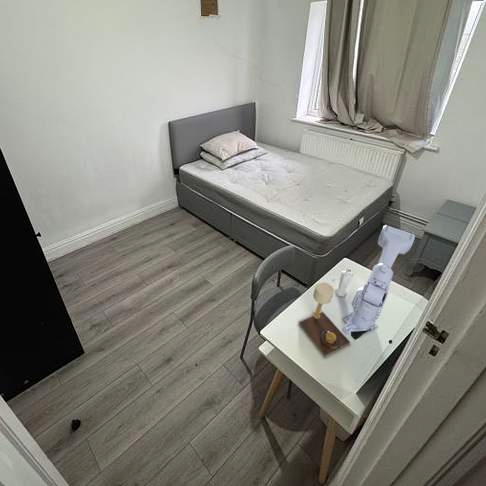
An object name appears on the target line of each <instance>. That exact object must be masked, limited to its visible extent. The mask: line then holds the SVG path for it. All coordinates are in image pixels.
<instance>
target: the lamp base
mask: <svg viewBox="0 0 486 486" xmlns="http://www.w3.org/2000/svg"><path fill="white" fill-rule="evenodd" d="M319 314H320V318H319V319H316V318H314V317H313V315H312V316H310V317H308V318H305V319H303V320H300V321H299V322H298V325H299V327H300V328H301V329H302V331H304V333H305V334H306V335H307V337H308V338H309V339H310V340H311V342H312V343H313V344H314V345H315V347H316V348H317V349H318V351H319V352H320V354H322V355H323V357H324V358H327V357H328V356H330V355H331V354H333V353H336V352H337V351H339V350H341V349H343V348H345V347H347V346H349V345H350V343H351V341H350V340H349V339H348V338H347V337H346V335H345V334H343V333H342V331H341V330H340V329H339V328H338V327H337V326H336V325H335V323H333V321H332V320H331V319H330V318H329V317H328V316H327V315H326V314H325V312H324V311H320V313H319ZM328 332H332V333H334V334H335V335H336V341H335V343H333V344H331V343H328V342H327V341H326V339H325V336H326V334H327V333H328Z"/></svg>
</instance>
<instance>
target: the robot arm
mask: <svg viewBox="0 0 486 486" xmlns="http://www.w3.org/2000/svg"><path fill="white" fill-rule="evenodd" d="M415 238H416V235H415V234H414V233H412V232H408V231H404V230H401V229H399V228H395V227H392V226H390V225H387V224H385V225H383V227H382V229H381V231H380V234H379V236H378V240H377V245H378V246H379V247H381V255H380V257H379V259H378V261H377V264H374V266H373V268H372V270H371V273H370V275H369V277H368V279H367V282H365V283H364V284H363V286H362V287H359V288H358V289H357V291H356V292H355V294H354V297H353V299H352V301H351V305H350V306H351V307H352V311H351V312H350V313H349V316H347V317H345V318H344V319H343V321H344V322H345V323H346V324H345V325H343V326H342V328H341V332H343V333H344V335H345V336H347V335H348V334H349V333H350V336H351V337H352V339H353V340H354V341H356V340H358V339H360V338H361V337H362V336H363V335H364V334H366V333H368V332H370V331H371V330H372V329H374V328H376V327H377V324H376V322H377V321H378V319H379V317H380V316H381V313H382V311H383V309H384V306H385V302H386V300H387V298H388V295H389V289H390V284H391V282H392V279H393V276H394V271H393V270H392V267H393V265H394V263H395V261H396V259H397V257H398V256H399V254H400V255H406V253H408V252H409V251H410V250H411V248H412V246H413V244H414V241H415Z"/></svg>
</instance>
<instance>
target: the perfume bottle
mask: <svg viewBox="0 0 486 486" xmlns="http://www.w3.org/2000/svg"><path fill="white" fill-rule="evenodd" d="M345 269H346V270H344V271H341V273H340V277H339V282H338V286H337V289H336V291H335V292H336V295H337V296H339V297H343V298H344V297H345V295H346V291H347V289H348V287H349V285H350V283H351V281H352V278H353V277H354V274H353V273H352V271H353V269H351V268H350V267H347V268H345Z"/></svg>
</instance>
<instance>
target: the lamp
mask: <svg viewBox="0 0 486 486" xmlns="http://www.w3.org/2000/svg"><path fill="white" fill-rule="evenodd" d="M334 293H335V290H334V287H333V286H332V285H331V284H330V283H328V282H325V281H320V282H318V283H316V284H315V287H314V291H313V295H312V296H313V299H314V301H315V302H316V303H317V304H316V307H315V311H314V312H313V313H312V316H313V317H314V318H316V319H319V318H320V314H319V313H321V310H322V307H323V305H329V304H330V303H331V301H332V299H333V295H334Z"/></svg>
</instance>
